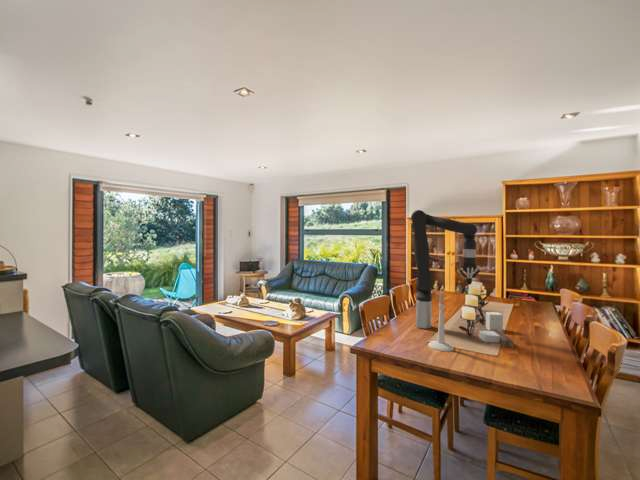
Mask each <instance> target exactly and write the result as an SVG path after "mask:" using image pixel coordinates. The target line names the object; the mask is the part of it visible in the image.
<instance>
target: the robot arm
mask: <svg viewBox="0 0 640 480" xmlns="http://www.w3.org/2000/svg"><path fill="white" fill-rule="evenodd" d="M410 216H411V217H410V220H411V222H412V227H413V253H414V255H413V256H414V258H415V259H414V260H415V265H416V268H417V279H416V284H415V286H416V287H415V289H416V294H415V295H416V305H415V306H416V309H415V320H414V321H415V322H414V323H415V327H416V328H418V329H425V330H427V329H431V328H432V286H433V280H432V276H431V269H430V261H431V260H430V244H429V239H428V234H427V226H431V227H435V228H439V229H442V230H445V231H449V232H453V233H459V234H462V237H463V244H462V245H463V246H462V247H463V250H462V265H461V267H460V268H458V272H459V273H460V275H461V276H462V277H463V278H465V284H467V285H469V286H470V285H471V284H472V283H473V281H472V279H475V278H476V277H477V276H478V275H479V273H480V272H481V270H480V269H479V268H478V267H477V241H476V234H477V232H478V227H477V225H474V224H473V223H469V222H462V221H458V220H455V219H451V218H450V219H449V218H445V217H437V216H433V215H429V214H427V213H425V211H423V210H422V209H417V210H414V211H413V212H412V213H411V215H410Z"/></svg>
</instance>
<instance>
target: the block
mask: <svg viewBox="0 0 640 480" xmlns="http://www.w3.org/2000/svg"><path fill="white" fill-rule="evenodd" d="M478 337H479V339H481V340H482V342H484V341H485V342H484V343H498V342H499V343H500V336H499V335H498V334H497V333H495V332H494V331H489V330H479V331H478ZM500 344H501V343H500Z"/></svg>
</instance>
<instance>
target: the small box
mask: <svg viewBox="0 0 640 480" xmlns="http://www.w3.org/2000/svg"><path fill="white" fill-rule="evenodd" d="M485 329H486V330H487V331H490V329H498V330H499V331H500V332H503V329H504V315H503V314H502V313H500V312H494V311H492V312H490V311H489V312H488V311H486V312H485Z"/></svg>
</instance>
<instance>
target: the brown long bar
mask: <svg viewBox="0 0 640 480" xmlns="http://www.w3.org/2000/svg"><path fill="white" fill-rule="evenodd" d="M490 331H494V332H495V333H497V334H498V335H499V336H500V344H501V345H502V346H504V347H505V348H514V340H513V339H512V338H510V337H509V336H507V335H506V334H504V333H503V331H499V330H498V329H490Z"/></svg>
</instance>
